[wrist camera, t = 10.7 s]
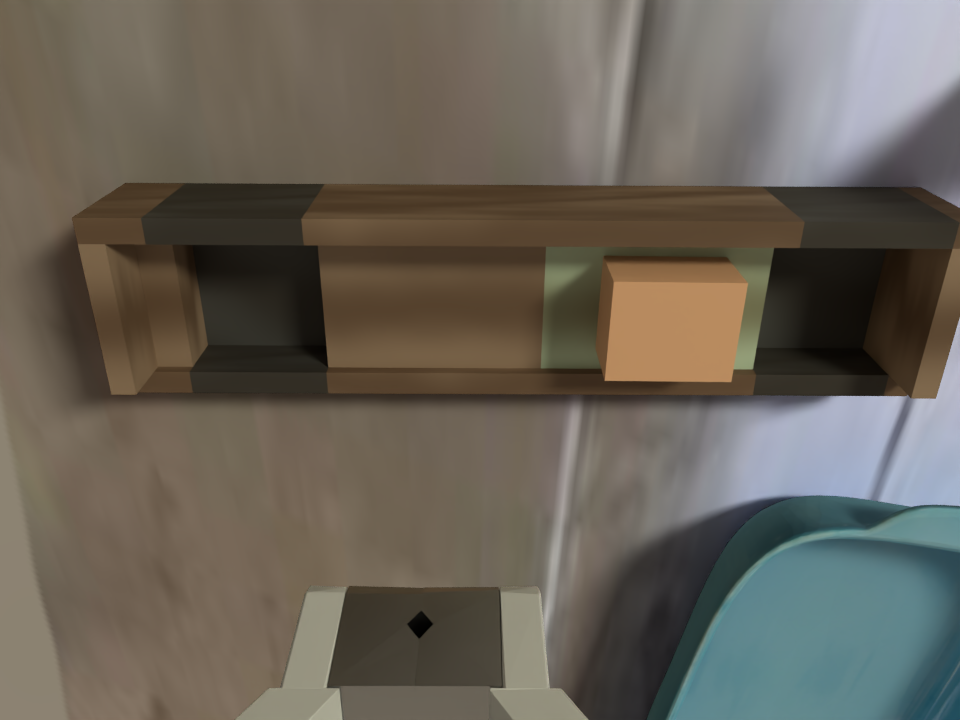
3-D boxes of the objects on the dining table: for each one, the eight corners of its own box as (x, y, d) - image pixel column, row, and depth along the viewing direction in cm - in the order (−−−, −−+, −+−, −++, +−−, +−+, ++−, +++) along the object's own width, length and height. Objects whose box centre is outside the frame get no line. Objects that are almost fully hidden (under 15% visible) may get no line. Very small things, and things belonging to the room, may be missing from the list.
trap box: (125, 183, 41) (71, 217, 36) (920, 187, 41) (987, 222, 36) (159, 361, 45) (116, 416, 40) (876, 364, 45) (929, 419, 40)
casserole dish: (849, 846, 65) (890, 943, 59) (578, 813, 63) (589, 910, 57) (1085, 468, 49) (1175, 546, 43) (729, 409, 47) (769, 481, 41)
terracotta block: (603, 255, 39) (613, 281, 36) (726, 257, 39) (748, 283, 36) (595, 348, 42) (604, 380, 39) (712, 349, 42) (731, 382, 39)
